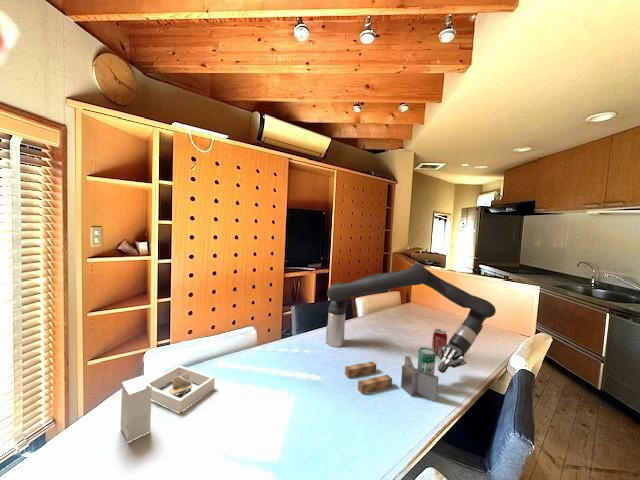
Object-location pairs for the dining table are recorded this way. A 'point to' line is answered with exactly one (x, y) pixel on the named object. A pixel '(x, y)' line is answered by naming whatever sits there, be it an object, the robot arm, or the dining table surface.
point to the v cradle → (418, 381)
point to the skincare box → (136, 407)
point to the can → (426, 360)
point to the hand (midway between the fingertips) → (440, 371)
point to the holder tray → (182, 403)
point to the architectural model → (181, 384)
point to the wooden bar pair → (370, 383)
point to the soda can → (439, 340)
